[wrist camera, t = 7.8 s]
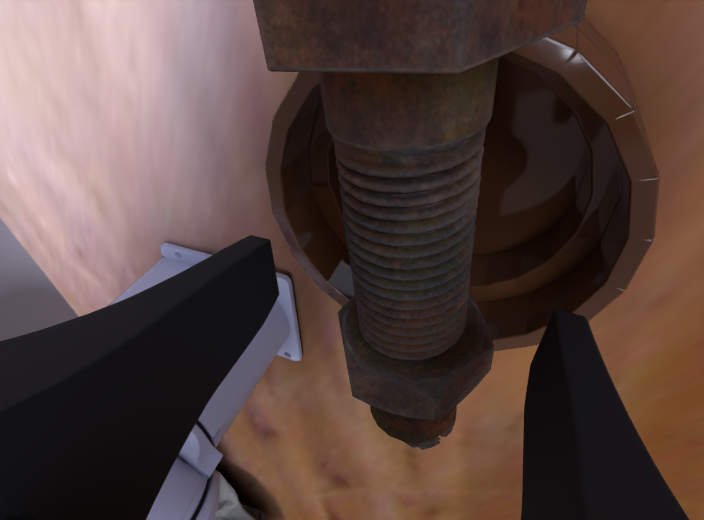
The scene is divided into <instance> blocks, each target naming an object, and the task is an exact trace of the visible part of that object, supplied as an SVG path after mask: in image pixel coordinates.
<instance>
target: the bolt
mask: <svg viewBox="0 0 704 520" xmlns="http://www.w3.org/2000/svg"><path fill="white" fill-rule="evenodd" d="M253 2H254V7H255V12H256V16H257V21H258V26H259V30H260V35H261V40H262V44H263V49H264V54H265V58H266V63H267V68H268V70H270V71H283V72H318V76H319V82H320V88H321V95H322V101H323V107H324V113H325V120H326V126H327V128H328V130H329V132H330V133H331V135H332V136H333V141H334V143H335V144H334V149H335V155H336V165H337V167H338V169H339V170H338V179H339V181H340V191H341V196H342V197H341V200H342V206H343V217H344V227H345V230H346V240H347V242H348V244H347V248H348V252H349V258H350V261H351V262H350V267H351V272H352V279H353V287H354V294H355V295H354V296H353V297H352V298H351V299H350V300H349V301H348V302H347V303H346V304H345V305H344V306H343V307H342V308H341V310H340V311H339V312H338V316H339V322H340V328H341V334H342V340H343V346H344V351H345V357H346V362H347V368H348V373H349V379H350V384H351V390H352V395H353V397H355V398H357V399H359V400H361V401H363V402H365V403H367V404H369V405H370V406H371V412H372V415H373V418H374V419H375V421H376V423H377V425H378V426H379V427H380V428H381V429H382V430H384V431H385V432H386V433H387V434H388V435H389V436H391V437H394V438H396V439H399V440H401V441H403V442H405V443H407V444H408V445H410V446H412V447H419V448H420V449H422V450H423V449H427V448H431V447H433V446H435V445H437V444H439V443H440V442H439V441H438V440H440V438H439V437H438V436H439V435H440V436H442V437H444V436H445V437H446V436H447V435H448V434H449V433H450V432H451V431H452V428H453V426H454V423H455V419H456V410H457V409H456V406H457V404H458V403H460V402H461V401H462V400H463V399H464V398H465V397H466V396H467V395H468V394H469V393H470V392H471V391H472V390H473V389H474V388H475V387H476V386H477V385H478V384H479V383H480V381H481V380H482V379H483V378H484V377H485V375H486V374H487V373H488V372H489V371H490V369H491V364H492V358H493V353H494V344H493V341H492V338H491V336H490V333H489V330H488V327H487V324H486V322H485V320H484V318H483V315H482V313H481V311H480V309H479V307H478V305H477V304H476V302H475V301H474V299H473V298H472V296H471V295H470V294H469V284H470V269H471V259H472V252H473V244H474V239H475V238H474V232H475V229H476V226H475V220H476V217H477V211H476V210H477V206H478V200H477V199H478V197H479V192H480V189H479V185H480V181H481V175H480V172H481V165H482V156H483V152H484V146H483V143H484V140H485V133H486V126H487V124H488V123H489V121H490V119H491V118H492V110H493V102H494V94H495V86H496V79H497V71H498V63H499V57H500V56H503V55H505V54H508V53H510V52H512V51H515V50H517V49H519V48H522V47H524V46H527V45H529V44H531V43H534V42H536V41H538V40H541V39H543V38H546V37H548V36H550V35H553V34H555V33H558V32H560V31H562V30H565V29H567V28H569V27H572V26H574V25H577V24H579V23H580V22H582V20H583V16H584V11H585V6H586V2H587V0H253Z"/></svg>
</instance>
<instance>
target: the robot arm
mask: <svg viewBox="0 0 704 520" xmlns="http://www.w3.org/2000/svg"><path fill="white" fill-rule="evenodd" d="M160 251H161V253H162V256H163V258H162V259H161V260H159V261H158V262H157V263H156V264H155V265H154V266H153V267H151V268H150V269H149V270H148V271H147V272H146V273H145V274H143V275H142V276H141V277H140V278H139V279H138V280H137V281H136V282H134V283H133V284H132V285H131V286H130V287H129V288H128V289H126V290H125V291H124V292H123V293H122V294H121V295H120V296H119V297H117V298H116V299H115V300H114V301H113V302H112V303H111V304H109V305H108V306H107V307H105V308H102V309H100V310H97V311H95V312H92V313H89V314H87V315H84V316H81V317H78V318H75V319H72V320H69V321H66V322H63V323H60V324H57V325H55V326H51V327H48V328H45V329H42V330H39V331H36V332H32V333H29V334H25V335H22V336H18V337H15V338H11V339H8V340H4V341H0V520H213V519H214V516H215V514H216V511H217V507H218V503H219V490H220V477H219V475H218V473H216V472H215V471H214V470H215V468H216V467H217V465H218V464H219V462H220V460H221V459H222V457H223V454H222V453H220V452H219V451H218V450H217V449H216V447H217V446H218V444H219V442H220V441H221V439H222V438H223V436H224V435H225V433H226V432H227V430H228V429H229V427H230V425H231V424H232V422H233V421H234V419H235V418H236V416H237V415H238V413H239V412H240V410H241V408H242V407H243V405H244V404H245V402H246V401H247V399H248V398H249V396H250V395H251V393H252V391H253V390H254V388H255V387H256V385H257V384H258V382H259V381H260V379H261V378H262V376H263V374H264V373H265V371H266V370H267V368H268V367H269V365H270V364H271V362H272V361H273V359H274V358H275V356H276V355H278V356H281V357H284V358H287V359H290V360H293V361H300V360H301V358H302V349H301V342H300V335H299V328H298V322H297V315H296V308H295V301H294V294H293V287H292V282H291V279H290V278H289V277H288V276H287V275H285V274H282V273H278V272H276V271H275V265H274V259H273V253H272V248H271V242H270V240H269V239H264V238H260V237H256V236H252V235H250V236H248V237H246V238H244V239H242V240H240V241H238V242H236V243H234V244H232V245H230V246H229V247H227V248H225V249H223V250H221V251H219V252H218V253H216V254H214V255H211V254H207V253H203V252H200V251H196V250H192V249H188V248H185V247H181V246H177V245H174V244H170V243H164V244H162V245H161V246H160ZM521 520H689V519H688V517H687V515H686V514H685V512H684V511H683V509H682V508H681V506H680V504H679V503H678V501H677V500H676V498H675V496H674V495H673V493H672V492H671V490H670V489H669V487H668V485H667V484H666V482H665V480H664V479H663V477H662V475H661V474H660V472H659V470H658V468H657V467H656V465H655V463H654V462H653V460H652V458H651V456H650V454H649V453H648V451H647V449H646V447H645V445H644V444H643V442H642V440H641V438H640V436H639V434H638V433H637V431H636V429H635V427H634V425H633V423H632V421H631V419H630V417H629V415H628V413H627V411H626V409H625V407H624V405H623V403H622V401H621V399H620V397H619V395H618V392H617V390H616V388H615V386H614V384H613V382H612V380H611V377H610V375H609V373H608V371H607V368H606V366H605V364H604V361H603V359H602V357H601V354H600V352H599V349H598V347H597V344H596V342H595V339H594V337H593V334H592V331H591V329H590V326H589V323H588V321H587V319H586V318H585V316H582V315H578V314H574V313H569V312H565V311H561V310H557V309H554V311H553V313H552V316H551V318H550V320H549V323H548V325H547V327H546V330H545V332H544V334H543V337H542V339H541V341H540V344H539V346H538V348H537V351H536V353H535V356H534V358H533V360H532V363H531V365H530V372H529V378H528V385H527V392H526V399H525V408H524V445H523V492H522V514H521Z"/></svg>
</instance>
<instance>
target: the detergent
mask: <svg viewBox="0 0 704 520" xmlns="http://www.w3.org/2000/svg"><path fill="white" fill-rule="evenodd" d="M214 471H215V472H216V473H218V475H219V477H220V490H219V503H218V507H217V511H216V514H215V516H214V519H213V520H269V519H268V518H267V517H266V516H265V515H264V514H263V513H262V512H261V511H259V510H257V509H255V508H253V507H250V506H244V505H241V503H240V502H239V500H238V496H237V494H236V492H235V490H234V489H233V487H231V485H229V483H228V482H227V481H226V479H225V478H224V477H223V476H222V475H221V473H219V472H218V471H217V470H214Z"/></svg>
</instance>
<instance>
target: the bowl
mask: <svg viewBox="0 0 704 520" xmlns="http://www.w3.org/2000/svg"><path fill="white" fill-rule="evenodd" d="M334 144H335V143H334V141H333V136H332V135H331V133H330V132H329V130H328V128H327V126H326V120H325V113H324V107H323V101H322V95H321V88H320V82H319V76H318V72H299V73H298V75H297V76H296V78H295V80H294V82H293V83H292V85H291V87H290V89H289V90H288V92H287V94H286V96H285V97H284V99H283V101H282V103H281V105H280V106H279V108H278V110H277V112H276V113H275V115H274V119H273V121H272V127H271V133H270V139H269V146H268V152H267V158H266V164H265V166H266V168H265V169H266V175H267V182H268V188H269V194H270V200H271V206H272V211H273V214H274V217H275V219H276V221H277V223H278V225H279V227H280V229H281V231H282V234H283V236H284V238H285V240H286V242H287V244H288V246H289V249H290V251H291V252H292V254H293V255H294V257H295V258H296V259H297V260H298V262H299V263H300V264H301V265H302V267H303V268H304V269H305V270H306V272H307V273H308V274H309V275H310V277H311V278H312V279H313V280H314V282H315V283H316V284H317V285H318V286H319V287H320V288H321V289H322V290H323V291H324V292H326V293H327V294H328V295H329V296H331V297H332V298H333V299H334V300H336V301H337V302H338V303H339V304H340V305H342V306H344V305H345V304H346V303H347V302H348V301H349V300H350V299H351V298H352V297H353V296H354V295H355V294H354V287H353V279H352V272H351V267H350V262H351V261H350V258H349V252H348V248H347V244H348V242H347V240H346V230H345V227H344V217H343V206H342V200H341V197H342V196H341V191H340V181H339V179H338V170H339V169H338V167H337V165H336V155H335V149H334ZM483 146H484V152H483V156H482V165H481V172H480V175H481V181H480V185H479V189H480V192H479V197H478V199H477V200H478V206H477V210H476V211H477V217H476V220H475V226H476V229H475V232H474V238H475V239H474V244H473V252H472V259H471V269H470V284H469V294H470V295H471V296H472V298H473V299H474V301H475V302H476V304H477V305H478V307H479V309H480V311H481V313H482V315H483V318H484V320H485V322H486V324H487V327H488V330H489V333H490V336H491V338H492V341H493V344H494V351H499V350H506V349H513V348H520V347H527V346H533V345H538V344H540V341H541V339H542V337H543V334H544V332H545V330H546V327H547V325H548V323H549V320H550V318H551V316H552V313H553V311H554V309H557V310H561V311H565V312H569V313H574V314H578V315H582V316H585V318H586V319H587V321H589V320H590V319H592V318H593V317H594V316H595V315H596V314H598V313H599V312H600V311H601V310H602V309H604V308H605V307H606V306H607V305H608V304H610V303H611V302H612V301H613V300H614V299H616V298H617V297H618V296H619V295H620V294H622V293H623V292H624V290H625V289H626V288H627V287H628V285H629V283H630V281H631V279H632V278H633V276H634V274H635V272H636V270H637V269H638V267H639V265H640V263H641V262H642V260H643V258H644V256H645V254H646V253H647V251H648V249H649V247H650V245H651V244H652V242H653V238H654V236H655V224H656V213H657V201H658V190H659V179H660V178H659V172H658V168H657V165H656V162H655V159H654V155H653V152H652V149H651V146H650V142H649V139H648V136H647V133H646V130H645V126H644V123H643V120H642V117H641V113H640V110H639V107H638V104H637V102H636V99H635V96H634V93H633V91H632V88H631V85H630V82H629V80H628V77H627V74H626V72H625V69H624V66H623V63H622V61H621V59H620V58H619V55H618V53H617V52H616V51H615V50H614V49H613V48H612V47H611V46H610V45H609V44H608V43H607V42H606V41H605V40H604V39H603V38H602V37H601V36H600V35H599V34H598V32H597V31H596V30H595V29H594V28H593V27H592V26H591V25H590V24H589V23H588V22H587V21H586V20H585V19H584V18H583V20H582V22H580V23H579V24H577V25H574V26H572V27H569V28H567V29H565V30H562V31H560V32H558V33H555V34H553V35H550V36H548V37H546V38H543V39H541V40H538V41H536V42H534V43H531V44H529V45H527V46H524V47H522V48H519V49H517V50H515V51H512V52H510V53H508V54H505V55H503V56H500V57H499V63H498V71H497V79H496V86H495V94H494V102H493V110H492V118H491V119H490V121H489V123H488V124H487V126H486V133H485V140H484V143H483Z"/></svg>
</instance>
